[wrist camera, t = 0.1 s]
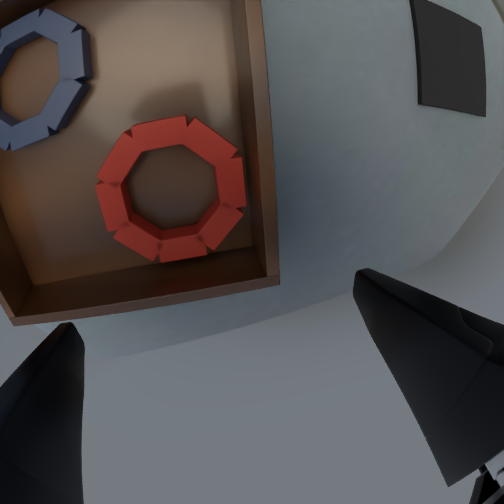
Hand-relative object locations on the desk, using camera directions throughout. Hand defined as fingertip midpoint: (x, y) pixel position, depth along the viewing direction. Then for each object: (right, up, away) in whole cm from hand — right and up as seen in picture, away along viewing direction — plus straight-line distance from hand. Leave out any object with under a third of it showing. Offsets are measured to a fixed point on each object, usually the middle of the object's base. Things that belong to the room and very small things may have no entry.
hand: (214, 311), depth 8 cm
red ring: (-4, +6, +9) cm, 12 cm away
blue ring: (-13, +13, +3) cm, 18 cm away
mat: (+19, +19, +8) cm, 28 cm away
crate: (-9, +9, +7) cm, 15 cm away
